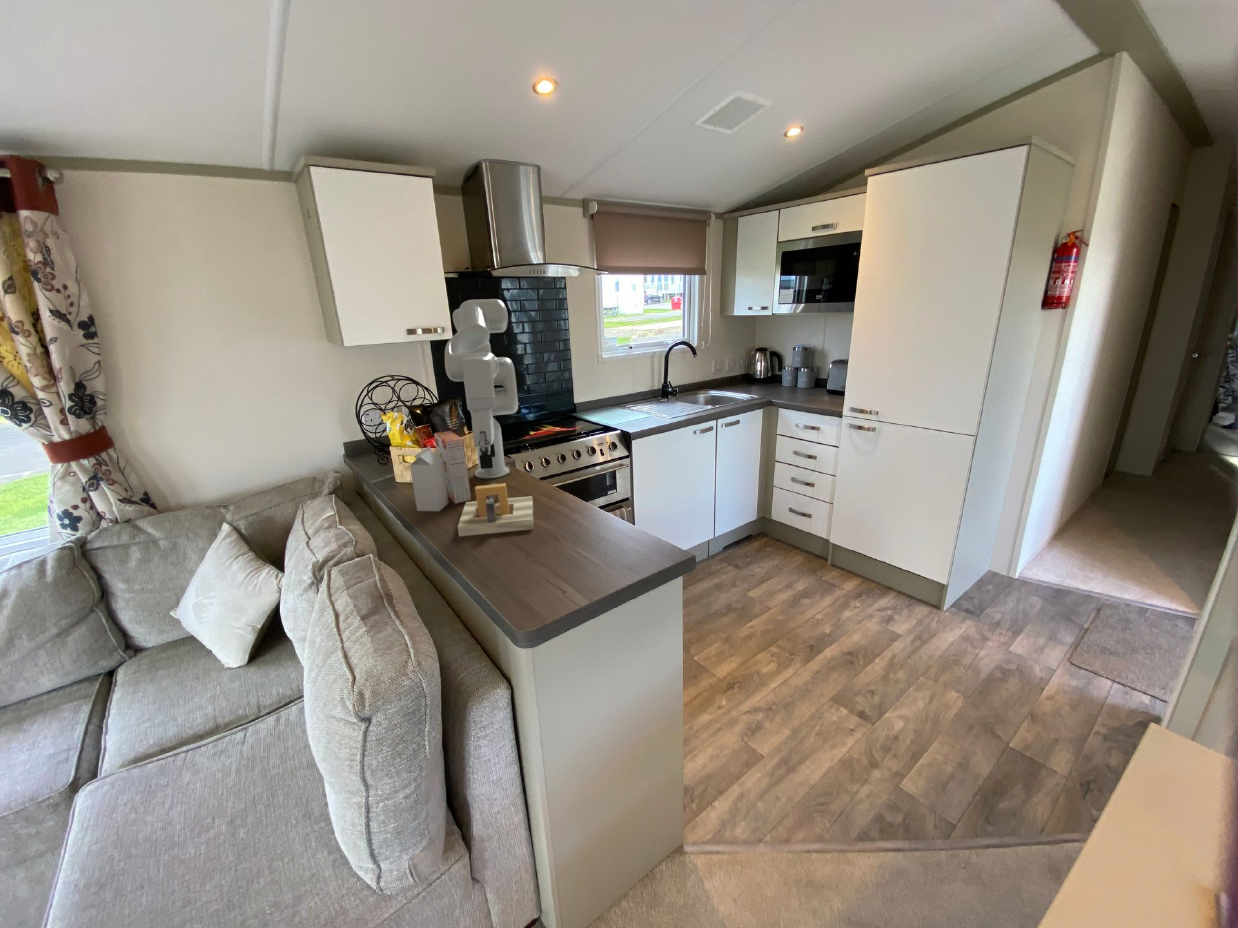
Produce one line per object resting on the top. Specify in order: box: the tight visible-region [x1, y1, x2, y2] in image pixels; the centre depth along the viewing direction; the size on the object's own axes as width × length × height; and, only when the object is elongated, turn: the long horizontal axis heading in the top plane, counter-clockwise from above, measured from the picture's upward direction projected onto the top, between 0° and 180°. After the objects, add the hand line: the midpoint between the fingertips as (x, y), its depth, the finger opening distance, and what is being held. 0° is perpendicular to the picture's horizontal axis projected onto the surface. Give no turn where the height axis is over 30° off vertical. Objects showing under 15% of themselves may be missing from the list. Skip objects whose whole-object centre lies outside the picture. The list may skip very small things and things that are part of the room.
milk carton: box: [409, 445, 450, 512], centre depth 152 cm, size 7×7×19 cm
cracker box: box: [433, 430, 473, 505], centre depth 161 cm, size 14×6×21 cm, turn 33°
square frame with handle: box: [457, 482, 534, 537], centre depth 143 cm, size 18×20×8 cm
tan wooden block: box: [474, 482, 511, 517], centre depth 142 cm, size 2×8×9 cm, turn 101°
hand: (488, 462), depth 140 cm, fingers open, 9 cm apart
